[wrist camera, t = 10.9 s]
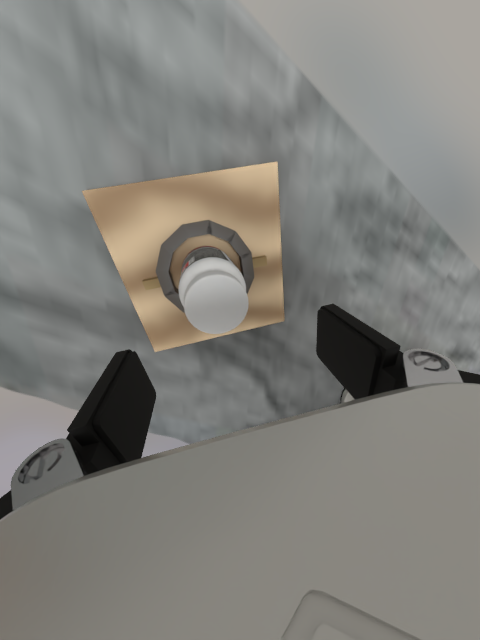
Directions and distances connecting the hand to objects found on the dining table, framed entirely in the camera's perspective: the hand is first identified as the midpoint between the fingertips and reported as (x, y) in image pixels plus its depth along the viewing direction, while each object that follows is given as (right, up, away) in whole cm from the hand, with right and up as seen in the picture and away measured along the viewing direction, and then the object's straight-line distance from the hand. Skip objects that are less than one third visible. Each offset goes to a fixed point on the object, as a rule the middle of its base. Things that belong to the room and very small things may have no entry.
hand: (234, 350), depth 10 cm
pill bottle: (-3, +7, +13) cm, 15 cm away
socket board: (-4, +8, +13) cm, 16 cm away
